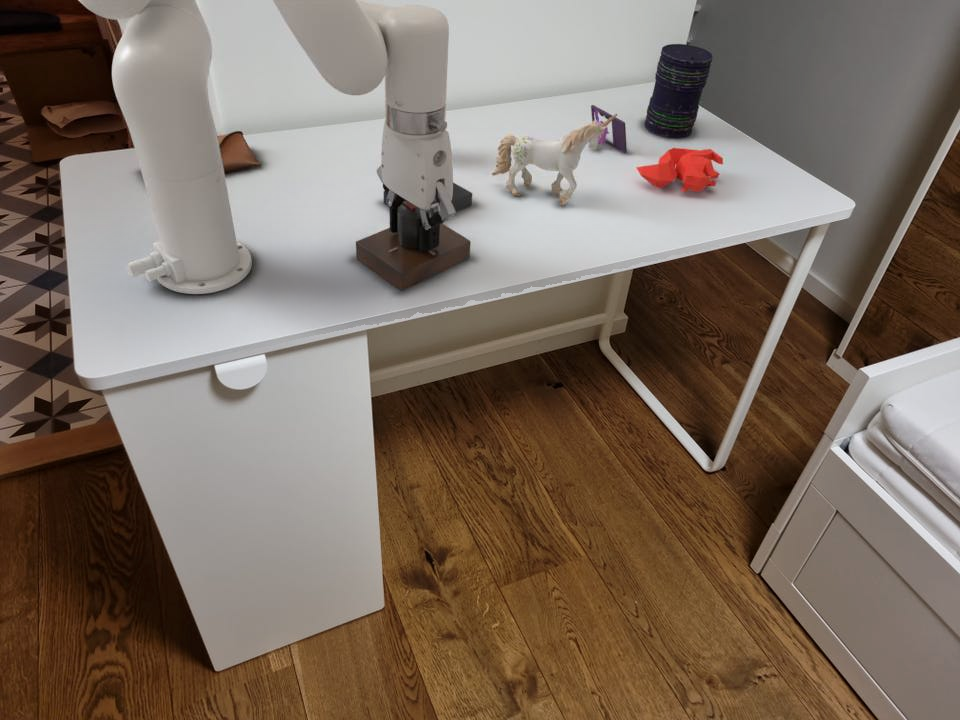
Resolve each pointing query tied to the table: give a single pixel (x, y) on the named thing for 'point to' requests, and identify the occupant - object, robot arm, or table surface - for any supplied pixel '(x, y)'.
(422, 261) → the dial panel
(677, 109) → the storage jar
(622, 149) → the purple decorative frame
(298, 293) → the table surface
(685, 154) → the animal figurine
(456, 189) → the switch base
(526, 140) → the unicorn figurine
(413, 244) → the dial
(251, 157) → the sunglasses case
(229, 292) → the table surface
